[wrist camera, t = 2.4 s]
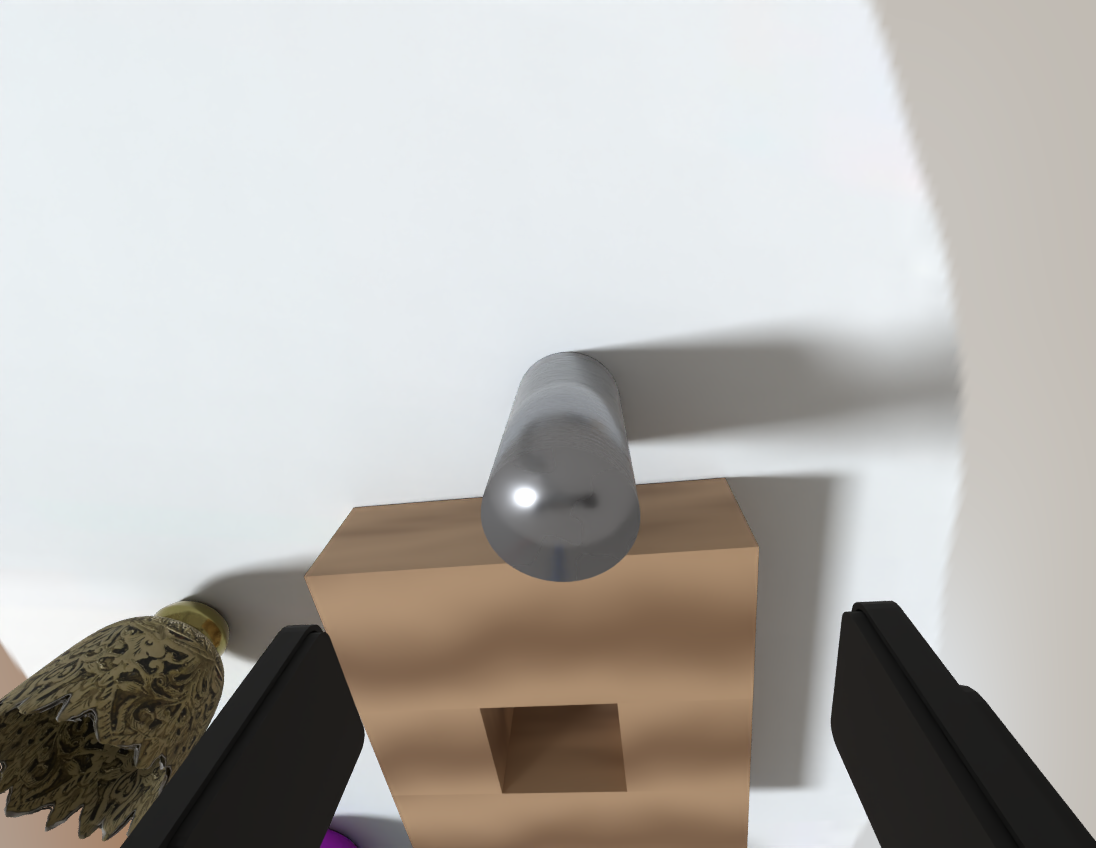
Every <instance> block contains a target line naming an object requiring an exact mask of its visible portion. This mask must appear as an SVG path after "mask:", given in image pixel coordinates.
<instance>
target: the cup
mask: <svg viewBox="0 0 1096 848" xmlns="http://www.w3.org/2000/svg"><path fill="white" fill-rule="evenodd" d="M229 635H230V632H229V627H228V624H227V622H226V621H225V619H224V618H223V617H222V616H221V615H220V614H219V613H218V612H217V611H216V610H214V609H213V608H211V607H210V606H207V605H205V604H203V603H200V602H195V601H180V602H176V603H173V604H170V605H168V606H166V607H164V608H162V609H161V610H159V611H158V612H157V613H156V614H155V615H154V616H143V617H134V618H130V619H126V620H122V621H119V622H116V623H114V624H111V625H109V626H106V627H104V628H102V629H100V630H99V631H97V632H95V633H93V634H91V635H90V636H88V637H86V638H85V639H83V640H82V641H80V642H79V643H77V644H75V645H74V646H73V647H71V648H70V649H68V650H67V651H65V652H64V653H63V654H61V655H60V656H58V657H57V658H56V659H54V660H53V661H52V662H50V663H49V664H47V665H46V666H45V667H43V668H42V669H41V670H39V671H38V672H37V673H35V674H34V675H32V676H31V677H30V678H28V679H27V680H26V681H24V682H23V683H22V684H20V685H19V686H18V687H16V688H15V689H14V690H12V691H11V692H10V693H8V694H7V695H6V696H4V697H3V698H2V699H0V763H1V765H2V769H1V766H0V769H1V770H0V794H2V793H4V792H5V791H6V790H8V789H9V794H8V796H7V799H6V807H5V809H4V811H5V815H6V817H19V816H22V815H26V814H33V813H35V812H39V811H40V810H45V809H50V810H51V811H50V814H49V815H48V818H47V819H48V820H47V822H46V827H45V831H49V830H51V829H53V828H55V827H57V826H58V825H60V824H62V823H64V822H65V821H67V819H68V818H69V817H70V816H71V815H73V814H74V813H75V812H77V811H78V810H79V809H80V808H82V807H83V808H82V811H81V814H80V816H79V830H78V831H79V832H78V836H79V838H80V839H84V838H86V837H88V836H90V835H91V834H92V833H93V832H94V831H95V830H96V829H97V828H98V827H99V828H101V829H102V835H103V836H102V841H106V840H108V839H109V838H111V837H113V836H114V835H115V834H117V833H118V832H119V831H120V830H121V829H122V828H123V827H124V826H125V825H126V824H127V823H128V822H129V821H130V820H132V821H131V824H130V827H129V829H128V832H127V834H126V835H127V836H129V835H130V834H131V832H132V831H133V830H134V828H135V827H136V825H137V824H138V823H139V821H140V820H141V819H142V817H143V816H144V815H145V813H146V812H147V811H148V809H149V808H150V806H151V805H152V804H153V802H154V801H155V800H156V798H157V797H158V796H159V794H160V793H161V792H162V790H163V789H164V787H165V786H166V785H167V783H168V782H169V781H170V779H171V778H172V777H173V775H174V774H175V773H176V771H177V770H178V769H179V767H180V766H181V764H182V763H183V762H184V760H185V759H186V758H187V756H188V755H189V754H190V752H191V751H192V750H193V748H194V747H195V745H196V744H197V743H198V741H199V740H200V739H201V737H202V736H203V735H204V733H205V732H206V730H207V728H208V726H209V724H210V722H211V720H212V718H213V716H214V713H215V711H216V709H217V706H218V703H219V701H220V698H221V695H222V690H223V685H224V668H223V664H222V660H221V657H220V656H221V655H222V654H223V653H224V652H225V650H226V648H227V645H228V641H229ZM43 807H46V808H43ZM51 807H53V809H52V808H51ZM40 808H41V809H40ZM132 818H133V819H132Z"/></svg>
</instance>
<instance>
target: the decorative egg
mask: <svg viewBox="0 0 1096 848" xmlns="http://www.w3.org/2000/svg"><path fill="white" fill-rule="evenodd" d="M320 848H357V847H356V846H355V845H354V844H353V842H352V841H351V840H349V839H348V838H346V837H345V836H343V835H341V834H339V833H337V832H335V831H332V830H330V829H328V830H327V832H326V835H325V837H324V839H323V842H322V844H321V846H320Z"/></svg>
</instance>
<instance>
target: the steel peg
mask: <svg viewBox="0 0 1096 848" xmlns="http://www.w3.org/2000/svg"><path fill="white" fill-rule="evenodd" d="M481 522H482V527H483V530H484V533H485V536H486V538H487V540H488V542H489V544H490V545H491V547H492V548H493V550H494V551H495V552H496V553H497V554H498V556H499V557H501V558H502V559H503V560H504V561H505V562H506V563H507V564H509V565H510V566H512V567H513V568H515V569H516V570H518V571H520V572H522V573H524V574H526V575H529V576H531V577H534V578H538V579H541V580H546V581H554V582H573V581H580V580H584V579H589V578H592V577H594V576H597V575H599V574H602V573H604V572H606V571H607V570H609V569H610V568H612V567H614V566H615V565H616V564H617V563H619V562H620V561H621V560H622V559H623V558H624V557H625V556H626V555H627V553H628V552H629V550H630V549H631V548H632V546H633V544H634V542H635V540H636V538H637V535H638V532H639V527H640V507H639V501H638V495H637V490H636V484H635V479H634V473H633V468H632V462H631V457H630V451H629V446H628V440H627V435H626V430H625V424H624V419H623V413H622V408H621V402H620V397H619V391H618V388H617V384H616V382H615V380H614V378H613V376H612V375H611V373H610V372H609V371H608V370H607V368H606V367H605V366H603V365H602V364H601V363H600V362H598V361H597V360H595V359H593V358H591V357H589V356H587V355H584V354H580V353H574V352H561V353H555V354H552V355H549V356H546V357H544V358H542V359H541V360H539V361H537V362H536V363H535V364H534V365H532V366H531V367H530V368H529V369H528V371H527V372H526V373H525V375H524V376H523V378H522V380H521V382H520V385H519V388H518V391H517V394H516V397H515V400H514V403H513V406H512V409H511V412H510V415H509V419H508V422H507V425H506V428H505V431H504V434H503V437H502V440H501V443H500V446H499V449H498V452H497V455H496V458H495V461H494V465H493V468H492V471H491V474H490V477H489V480H488V483H487V486H486V489H485V492H484V495H483V498H482V504H481Z"/></svg>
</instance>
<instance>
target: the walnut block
mask: <svg viewBox="0 0 1096 848" xmlns="http://www.w3.org/2000/svg"><path fill="white" fill-rule="evenodd" d="M636 490H637V495H638V501H639V507H640V527H639V532H638V535H637V538H636V540H635V542H634V544H633V546H632V548H631V549H630V550H629V552H628V553H627V555H626V556H625V557H624V558H623V559H622V560H621V561H620V562H619V563H617V564H616V565H615V566H614V567H612V568H610V569H609V570H607V571H606V572H604V573H602V574H599V575H597V576H594V577H592V578H589V579H584V580H580V581H573V582H554V581H546V580H541V579H538V578H534V577H531V576H529V575H526V574H524V573H522V572H520V571H518V570H516V569H515V568H513V567H512V566H510V565H509V564H507V563H506V562H505V561H504V560H503V559H502V558H501V557H499V556H498V554H497V553H496V552H495V551H494V550H493V548H492V547H491V545H490V544H489V542H488V540H487V538H486V536H485V533H484V530H483V527H482V522H481V504H482V498H483V497H481V498H469V499H456V500H444V501H432V502H419V503H407V504H394V505H382V506H369V507H357V508H353V509H352V511H351V512H350V513H349V515H348V516H347V518H346V519H345V520H344V522H343V523H342V524H341V526H340V527H339V529H338V530H337V531H336V533H335V534H334V536H333V537H332V538H331V540H330V541H329V542H328V544H327V545H326V547H325V548H324V549H323V551H322V552H321V554H320V555H319V556H318V558H317V559H316V560H315V562H314V563H313V565H312V566H311V567H310V569H309V570H308V572H307V573H306V574H305V576H304V578H305V581H306V583H307V586H308V588H309V591H310V593H311V596H312V598H313V601H314V603H315V606H316V608H317V611H318V613H319V616H320V618H321V621H322V623H323V626H324V628H325V631H326V633H327V634H328V635H329V636H330V639H331V641H332V644H333V647H334V649H335V652H336V655H337V657H338V660H339V663H340V665H341V668H342V671H343V673H344V676H345V679H346V681H347V684H348V687H349V689H350V692H351V695H352V697H353V700H354V703H355V705H356V708H357V710H358V713H359V715H360V717H361V720H362V722H363V725H364V727H365V730H366V732H367V735H368V737H369V740H370V742H371V745H372V747H373V750H374V752H375V755H376V757H377V760H378V762H379V765H380V767H381V770H382V772H383V775H384V777H385V780H386V782H387V785H388V787H389V789H390V792H391V794H392V797H393V799H394V802H395V804H396V807H397V809H398V812H399V814H400V817H401V819H402V822H403V824H404V827H405V829H406V832H407V834H408V837H409V839H410V842H411V844H412V847H413V848H747V837H748V812H749V787H750V761H751V736H752V711H753V685H754V660H755V635H756V609H757V584H758V559H759V546H758V544H757V542H756V540H755V538H754V536H753V534H752V532H751V530H750V527H749V525H748V523H747V521H746V519H745V517H744V515H743V513H742V511H741V509H740V507H739V505H738V503H737V501H736V499H735V497H734V495H733V493H732V491H731V489H730V487H729V485H728V483H727V481H726V479H725V478H717V479H705V480H693V481H680V482H668V483H655V484H643V485H636Z"/></svg>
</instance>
